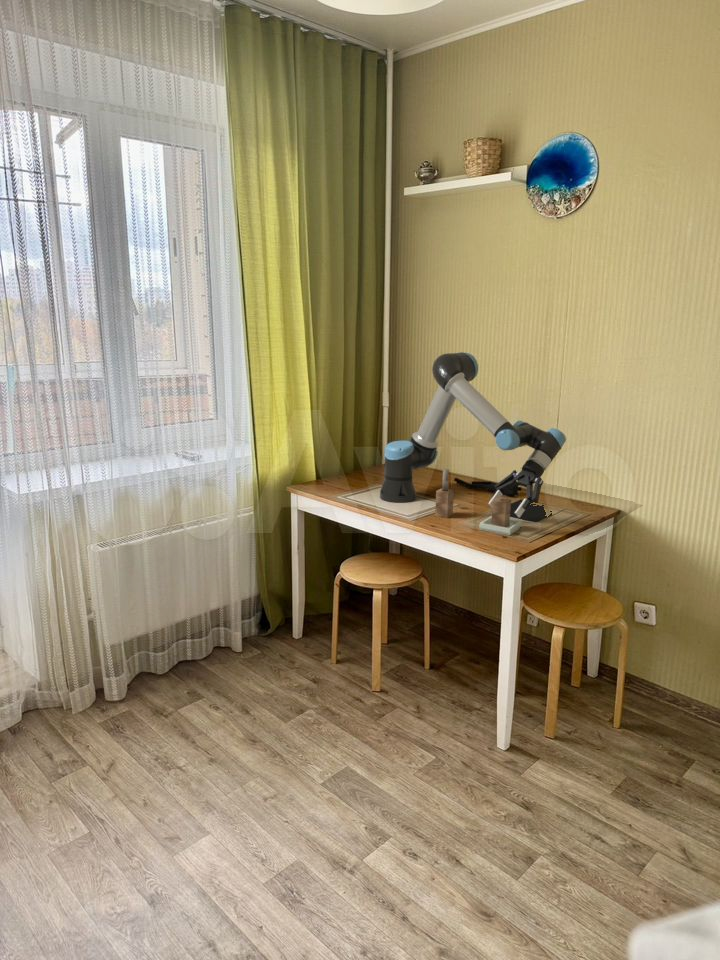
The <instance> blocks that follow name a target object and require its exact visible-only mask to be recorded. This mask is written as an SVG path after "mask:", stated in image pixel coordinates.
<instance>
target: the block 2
mask: <svg viewBox="0 0 720 960" xmlns="http://www.w3.org/2000/svg"><path fill="white" fill-rule="evenodd" d="M511 503H512V499H511V498H510V499H509V498H505V497H501V498H500V497H498V498H496V499H494V500H493V505H492V507H491V511H492V514H491V516H492V521H491V525H495V526H500V527H506V528H507V527H508V526H509V523H510V519H511V518H510V508H511Z"/></svg>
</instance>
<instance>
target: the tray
mask: <svg viewBox="0 0 720 960" xmlns="http://www.w3.org/2000/svg"><path fill="white" fill-rule="evenodd" d="M491 521H492V515H490V516H489V517H487V518H485V519H483V520H482V521H481V522H479V523H478V524H479V526H478V527H479V528H478V529H479V530H480V531H484V532H485V531H486V532H488V533H495V534H499V535H500V534H501V535H506V536H511V535H513V534H514V533H516V532H517V531H518V530H519V529H521V528H522V520H518V519H513V518H510V523H509V526H508V527H507V528H506V527H500V526H495V525H491ZM520 527H521V528H520Z"/></svg>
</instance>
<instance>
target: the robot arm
mask: <svg viewBox="0 0 720 960" xmlns="http://www.w3.org/2000/svg"><path fill="white" fill-rule="evenodd" d="M431 371H432V376H433V378H434V380H435V382H436V383H437V385H438V388H437V389H436V392H434V393H435V394H434V396H433V398H432V400H431V403H430V404H429V407H428V409H427V411H426V413H425V416H424V417H423V420H422V422H421V424H420V426H419V429H418V430H417V431H416V432H413V433H412V435H411V436H410V439H409V440H396V441H395V440H394V441H390V442H389V443H387V445H386V446H385V448H384V449H385V450H384V479H383V482H382V486H381V488H380V491H379V499H380V500H382V501H386V502H390V503H391V502H392V503H408V502H412V501H414V500H416V499H417V492H416V489H415V485H414V482H413V473H414V471H416V470H418V469H422V468H427V467H429V466H430V465H432V464H433V463H434V462H435V461H436V459H437V458H438V450H437V449H438V442H437V440H438V437H439V435H440V434H441V431H442V429H443V427H444V425H445V423H446V421H447V419H448V417H449V415H450V413H451V410H452V408H453V406H454V405H455V402H456V400H457V401H458V402H459V403H460V404H461V405H462V406H463V407H464V408H465V409H466V410H467V411H468V412H470V414H472V416H473V417H474V418H475V419H477V421H478V422H480V423H481V425H482V426H483V427H485V429H486V430H487V431H488V432H490V434H491V435H493V437H494V438H495V443H496V446H497V447H498V448H499V449H500V450H502V451H513V450H515V449H518V448H521V447H524V446H528V447H529V448H531V449H533V452H532V453H531V454H530V455H529V457H528V458H527V460H526V461H525V462H524V464H523V465H522V468H521V471H520V472H518V471H517V470H516V469H513V470H512V472H511V473H510V474H508V475H507V476H506V477H504V478H503V479H502V480H500V481H498V484H496V485H495V488H496V489H497V491H496V492H494V493H493V494H492V498H491V499H490V500H489V501H488V505H489V507H491V508H492V505H493V500H494V499H496V498H498V497H500V498H503V496H504V495H503V494H502V493H503V492H505V491H507V490H509V489H511V488H513V487H515V486H518V487H524V488H526V498H524V499H522V500H523V502H522V503H521V504H520V506H519V507H518V509H517V510H516V511H515V514H516V515H517V516H518V517H519V518H520V516H521V515H522V514H523V512H524V511H525V510H526V509H527V508H528V507H529V506H530V504H531V503H533V502H535V503H539V499H540V494H541V490H542V485H543V484H544V480H543V478H542V475H543V474H544V473H545V471H547V468H548V467H549V466H550V464H551V463H552V462H553V460H554V459H555V458H556V456H557V455H558V453H560V451H561V450H562V448H563V446H565V445H564V444H566V442H567V441H566V440H567V437H566V435H565V434H564V433H563V431H561V430H560V429H557V428H554V427H552V428H549V429H548V430H547V431H545V430H542V429H540V428H538V427H536V426H534V425H532V424H530V423H528V422H527V421H523V420H517V421H515V423H513V424H512V423H511V422H510V421H509V420H508V419H507V418H506V417H505V416H504V415H503V414H501V412H500V411H498V409H496V408H495V406H494V405H492V403H490V401H488V400H487V399H486V397H484V396H483V395H482V393H480V392H479V391H478V390H477V389H476V387H474V386H473V385H472V384H471V383H470V382H472V381H473V380H474V379H476V377H477V376H478V373H479V364H478V361H477V359H476V357H475V356H474V355H472V354H471V353H469V352H464V351H459V352H452V353H448V352H447V353H442V354H441V355H438V357H437V358H436V359H435V360H434V361H433V365H432V368H431ZM501 489H502V490H501Z"/></svg>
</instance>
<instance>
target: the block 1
mask: <svg viewBox="0 0 720 960" xmlns="http://www.w3.org/2000/svg"><path fill="white" fill-rule="evenodd" d="M449 473H450V469H448V468H447V469H442V486H441V487H442V488H440V489H437V490H435V510H434V511H435V513H434V515H435V517H438V516H439V517H438V518H445V519H448V518H449V517H451V515H452V516H453V512H454V511H453V510H454V493H455V492H454V491H455V490H454V489H449V480H450V479H449V478H450V476H449V475H450V474H449Z"/></svg>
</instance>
